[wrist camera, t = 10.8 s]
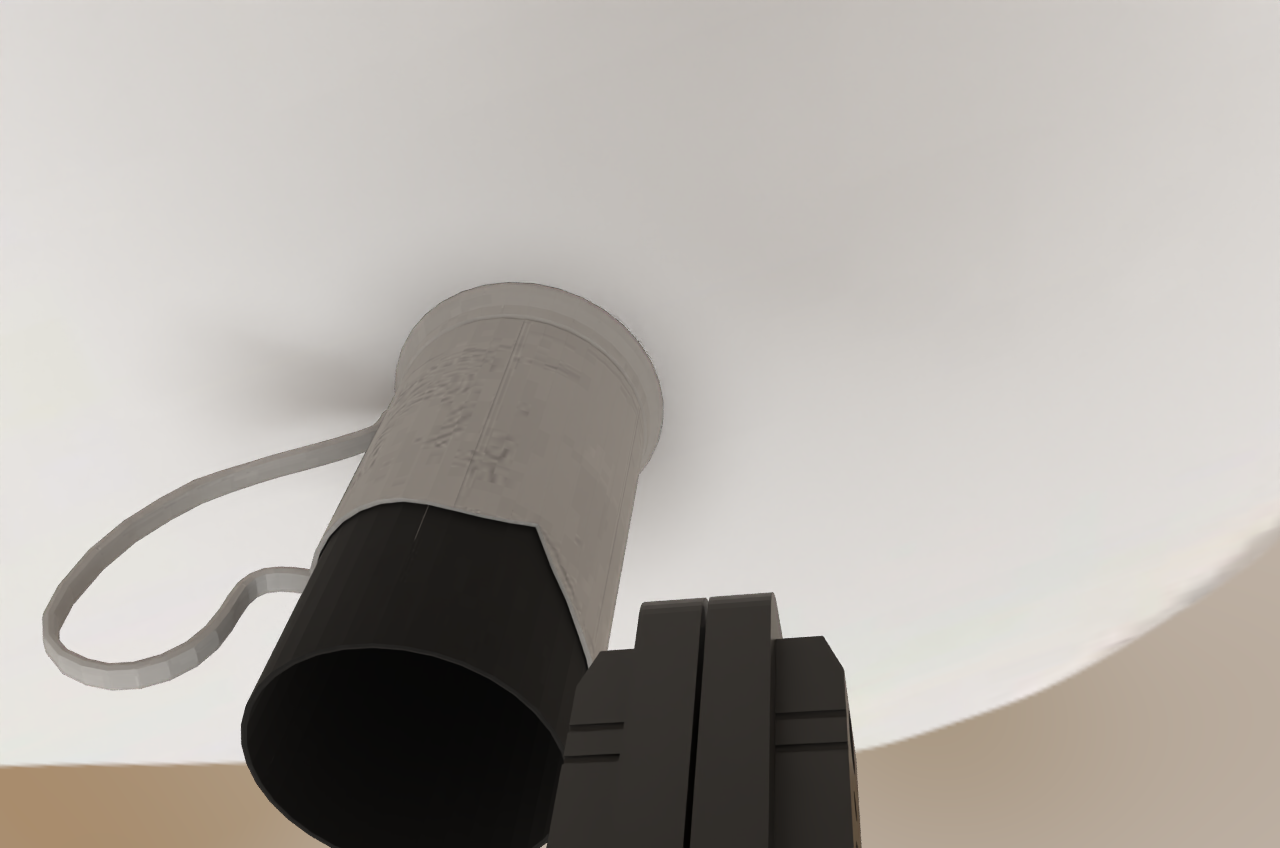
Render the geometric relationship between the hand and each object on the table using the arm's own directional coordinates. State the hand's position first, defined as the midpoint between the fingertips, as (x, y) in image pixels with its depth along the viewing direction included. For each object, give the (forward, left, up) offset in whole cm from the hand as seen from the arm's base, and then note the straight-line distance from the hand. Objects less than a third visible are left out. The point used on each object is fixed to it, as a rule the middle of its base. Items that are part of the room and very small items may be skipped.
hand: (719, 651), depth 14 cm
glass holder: (+9, -11, -23) cm, 27 cm away
